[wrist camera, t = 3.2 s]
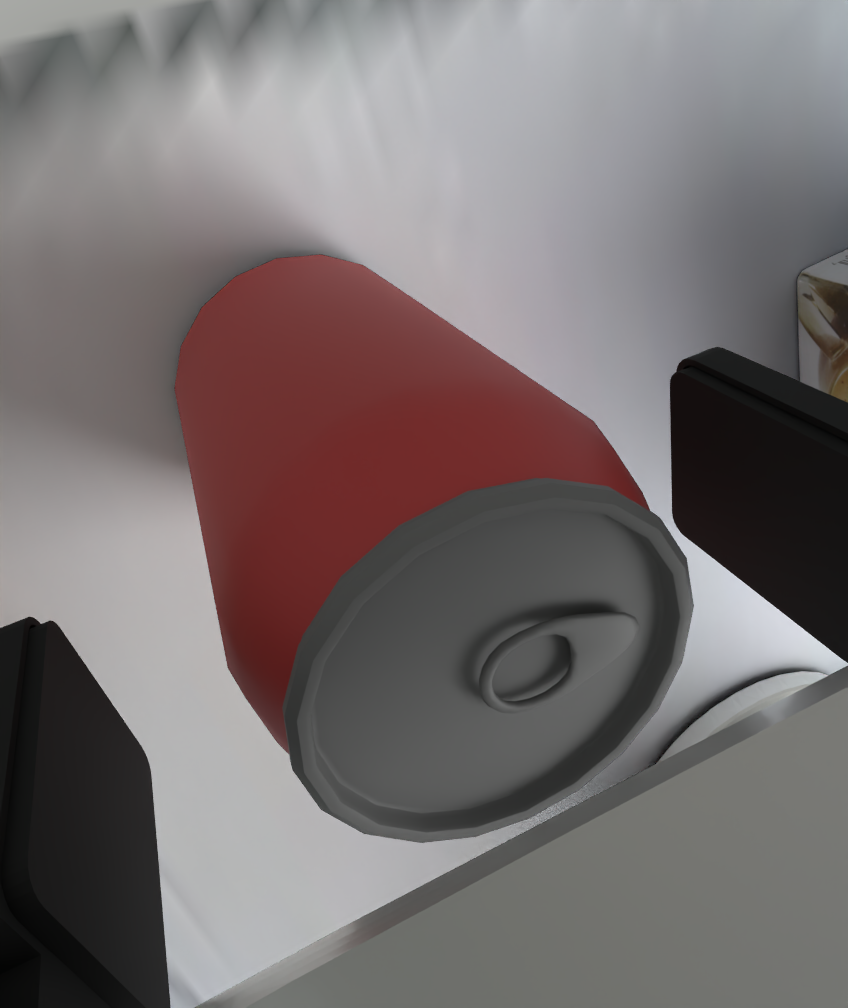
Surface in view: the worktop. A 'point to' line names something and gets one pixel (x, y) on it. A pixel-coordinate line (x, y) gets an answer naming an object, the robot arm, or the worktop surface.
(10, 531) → the worktop surface
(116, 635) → the worktop surface
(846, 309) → the coffee box
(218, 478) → the beer can
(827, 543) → the robot arm
